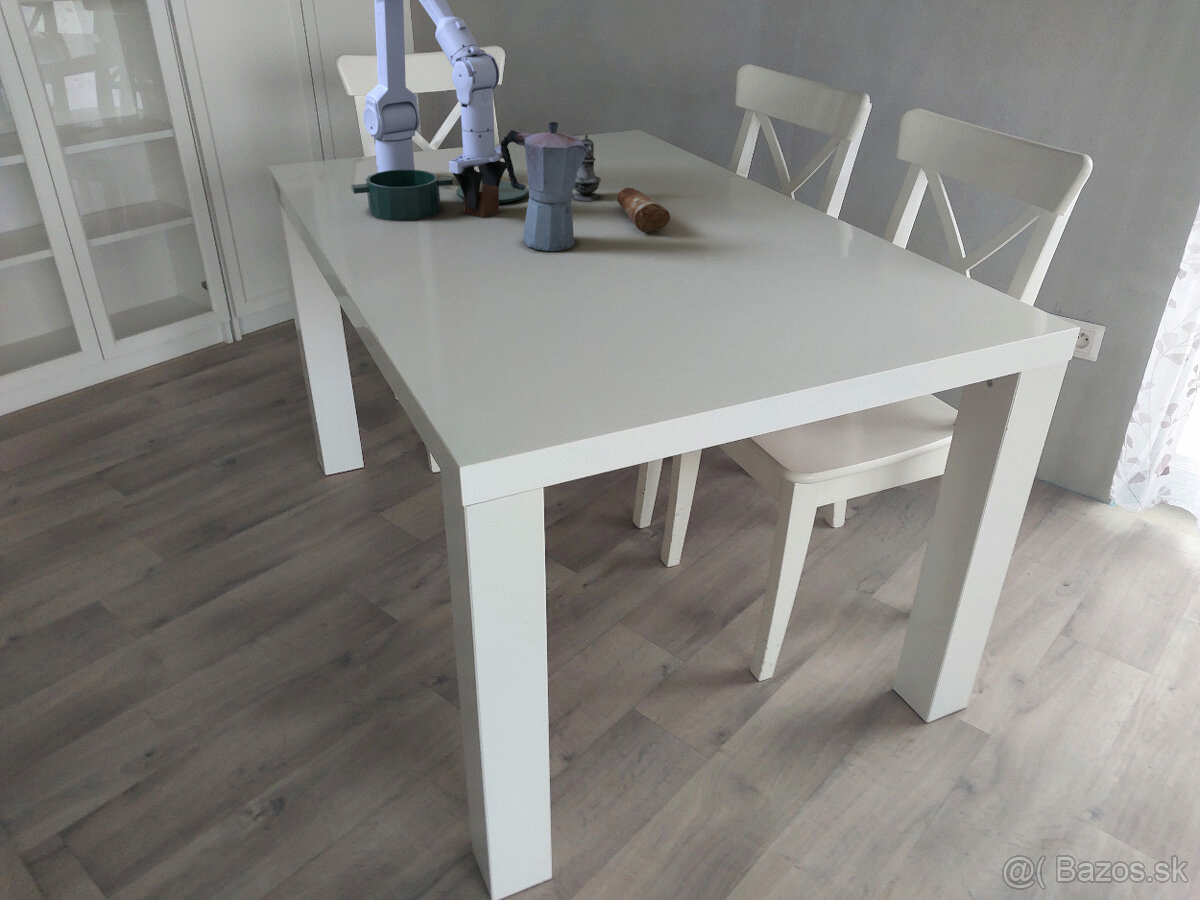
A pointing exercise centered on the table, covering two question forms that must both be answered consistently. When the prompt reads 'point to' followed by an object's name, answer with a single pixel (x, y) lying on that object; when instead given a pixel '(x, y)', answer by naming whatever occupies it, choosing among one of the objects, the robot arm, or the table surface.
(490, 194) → the block
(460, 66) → the robot arm
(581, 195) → the salt shaker
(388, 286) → the table surface
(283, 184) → the table surface
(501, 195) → the lid
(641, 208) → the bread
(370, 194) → the pot
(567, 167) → the moka pot
